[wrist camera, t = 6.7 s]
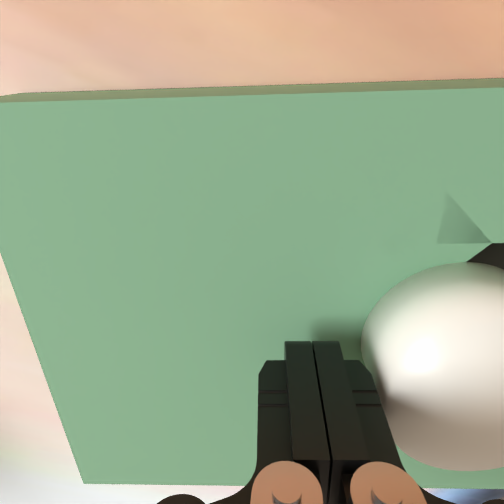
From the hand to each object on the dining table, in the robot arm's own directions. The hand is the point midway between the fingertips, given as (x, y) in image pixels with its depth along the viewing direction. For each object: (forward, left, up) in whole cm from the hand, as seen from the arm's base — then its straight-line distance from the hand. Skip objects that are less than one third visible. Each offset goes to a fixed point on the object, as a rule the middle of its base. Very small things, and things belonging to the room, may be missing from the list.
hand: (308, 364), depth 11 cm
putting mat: (0, +2, -4) cm, 4 cm away
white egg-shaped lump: (0, +4, -1) cm, 4 cm away
